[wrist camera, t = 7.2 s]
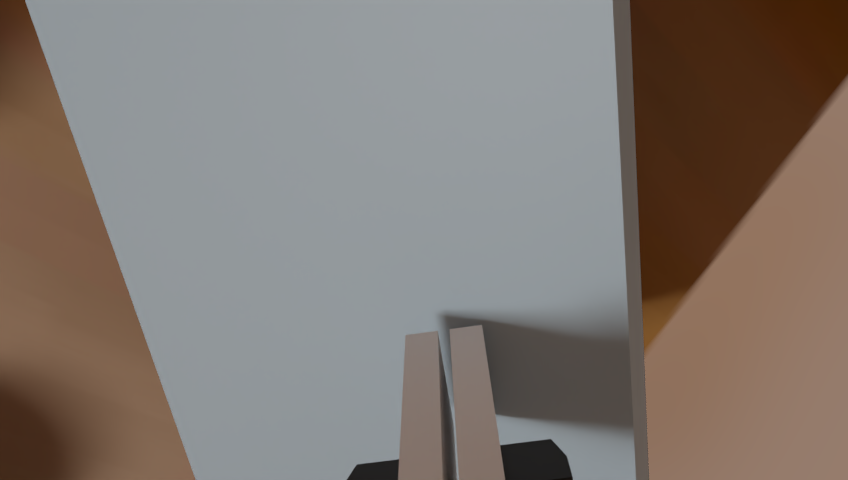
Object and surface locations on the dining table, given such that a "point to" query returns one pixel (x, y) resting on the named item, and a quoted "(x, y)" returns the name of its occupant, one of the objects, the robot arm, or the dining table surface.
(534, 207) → the crate lid
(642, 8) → the dining table surface
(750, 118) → the dining table surface
